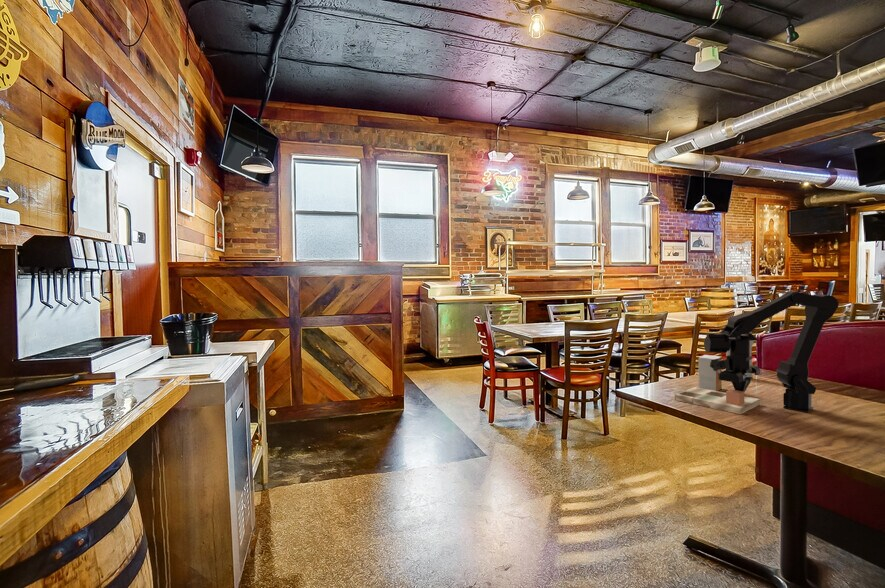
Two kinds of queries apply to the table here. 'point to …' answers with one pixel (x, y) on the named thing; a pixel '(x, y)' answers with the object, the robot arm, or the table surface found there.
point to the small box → (709, 374)
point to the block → (735, 397)
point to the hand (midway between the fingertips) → (739, 397)
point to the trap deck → (715, 400)
